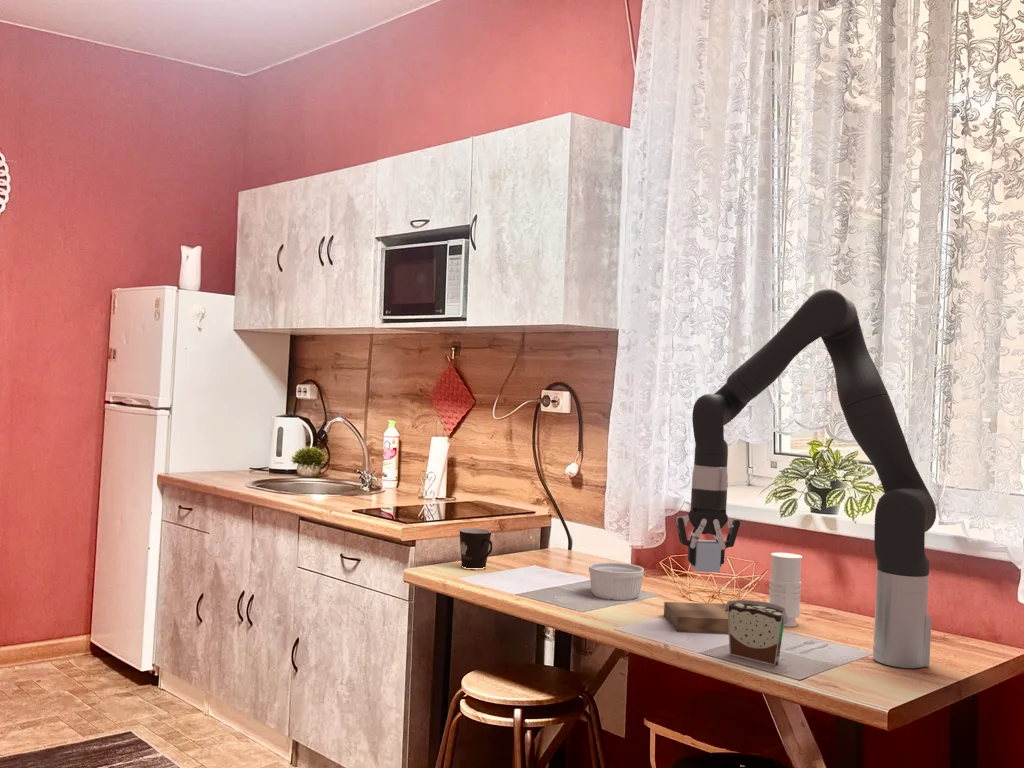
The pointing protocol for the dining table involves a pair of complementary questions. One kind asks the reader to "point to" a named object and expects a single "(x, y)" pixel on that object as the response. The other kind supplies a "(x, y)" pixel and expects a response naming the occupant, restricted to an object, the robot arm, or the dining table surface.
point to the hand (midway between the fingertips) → (705, 565)
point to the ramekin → (616, 580)
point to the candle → (786, 584)
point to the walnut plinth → (697, 617)
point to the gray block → (707, 556)
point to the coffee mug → (475, 547)
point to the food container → (755, 630)
